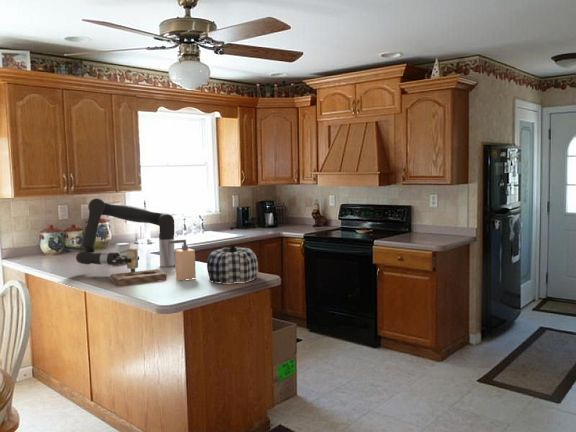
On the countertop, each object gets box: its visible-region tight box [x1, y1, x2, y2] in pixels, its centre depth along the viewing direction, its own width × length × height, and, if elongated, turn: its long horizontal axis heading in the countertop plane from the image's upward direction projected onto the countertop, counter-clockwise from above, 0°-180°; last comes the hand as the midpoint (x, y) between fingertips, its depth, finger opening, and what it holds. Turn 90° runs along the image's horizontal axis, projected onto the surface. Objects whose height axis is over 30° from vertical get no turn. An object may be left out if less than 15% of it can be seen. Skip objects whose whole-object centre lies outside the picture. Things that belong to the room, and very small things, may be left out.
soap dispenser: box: [169, 239, 197, 281], centre depth 288 cm, size 13×9×22 cm
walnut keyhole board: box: [110, 268, 167, 287], centre depth 287 cm, size 26×16×4 cm, turn 122°
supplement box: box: [115, 242, 131, 256], centre depth 345 cm, size 7×7×13 cm
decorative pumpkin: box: [206, 244, 259, 283], centre depth 285 cm, size 30×29×20 cm
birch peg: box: [126, 247, 139, 272], centre depth 299 cm, size 5×5×16 cm
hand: (135, 259), depth 299 cm, fingers open, 8 cm apart
